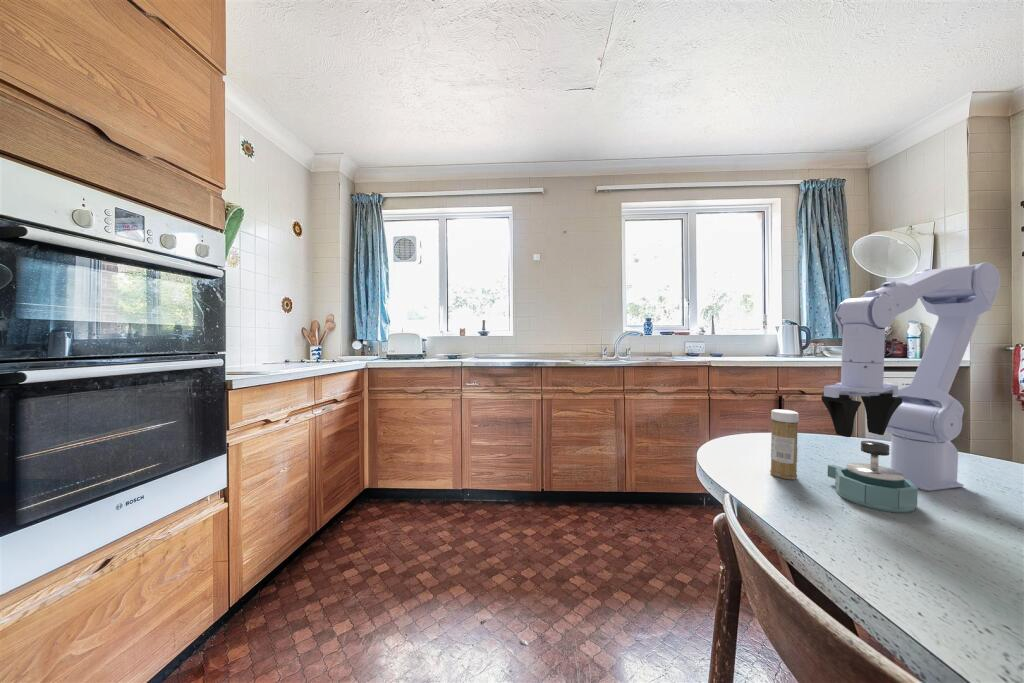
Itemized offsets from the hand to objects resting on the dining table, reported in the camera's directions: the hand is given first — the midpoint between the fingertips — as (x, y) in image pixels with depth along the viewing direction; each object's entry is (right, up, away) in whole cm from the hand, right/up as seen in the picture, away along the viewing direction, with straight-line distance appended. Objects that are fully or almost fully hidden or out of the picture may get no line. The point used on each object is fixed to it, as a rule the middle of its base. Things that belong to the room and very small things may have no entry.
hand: (859, 434), depth 69 cm
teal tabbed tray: (-1, -11, -2) cm, 11 cm away
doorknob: (-1, -6, -4) cm, 7 cm away
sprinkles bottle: (-9, -11, +7) cm, 16 cm away
